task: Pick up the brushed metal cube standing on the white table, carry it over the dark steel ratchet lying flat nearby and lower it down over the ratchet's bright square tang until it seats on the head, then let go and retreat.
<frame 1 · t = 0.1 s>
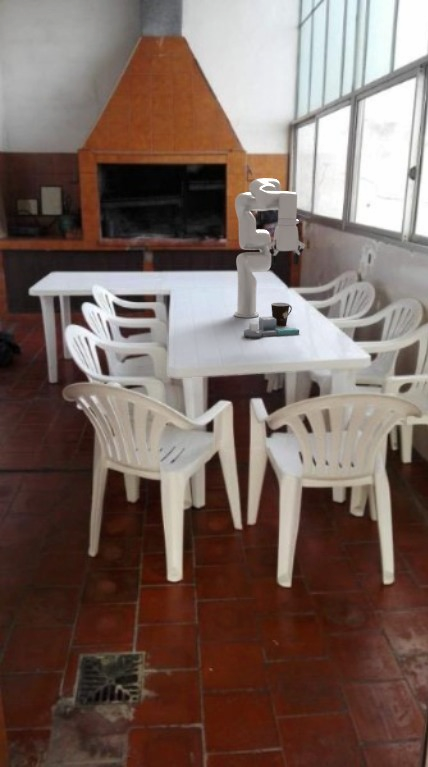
hand: (285, 264, 250), 31 cm above the table, fingers open, 9 cm apart
coffee mug: (282, 325, 280), on the table
ratchet: (253, 336, 258), on the table
brushed metal cube: (267, 331, 268), on the table
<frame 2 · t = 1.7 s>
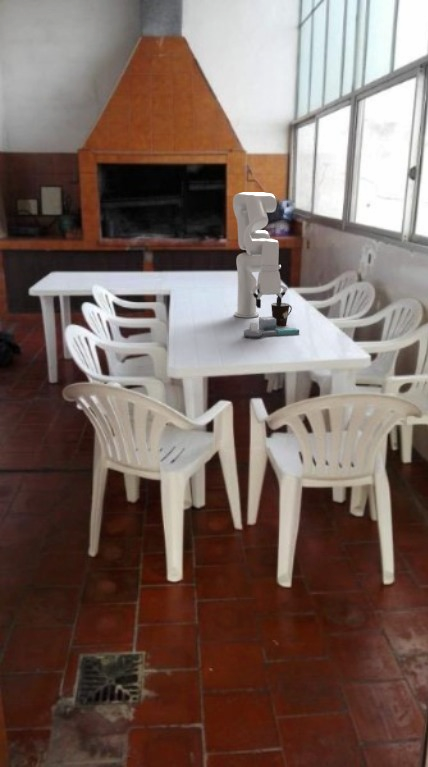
hand: (268, 307, 264), 11 cm above the table, fingers open, 9 cm apart
nothing on the table moved.
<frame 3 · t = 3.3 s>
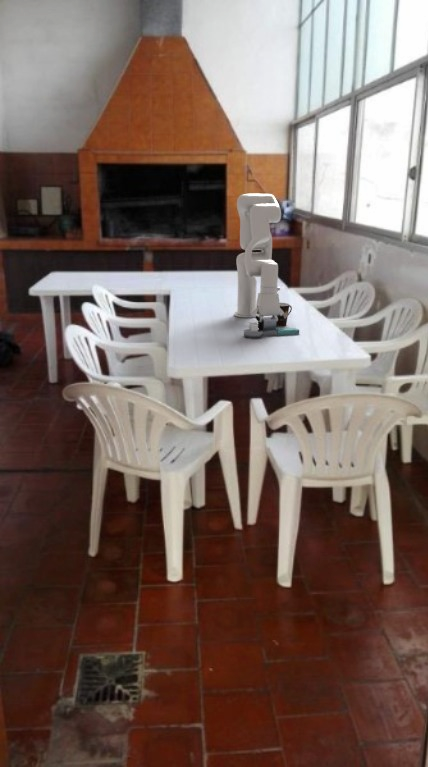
hand: (267, 329, 267), 1 cm above the table, fingers closed on brushed metal cube, 6 cm apart
brushed metal cube: (267, 331, 268), on the table, touching gripper
everything else where it was.
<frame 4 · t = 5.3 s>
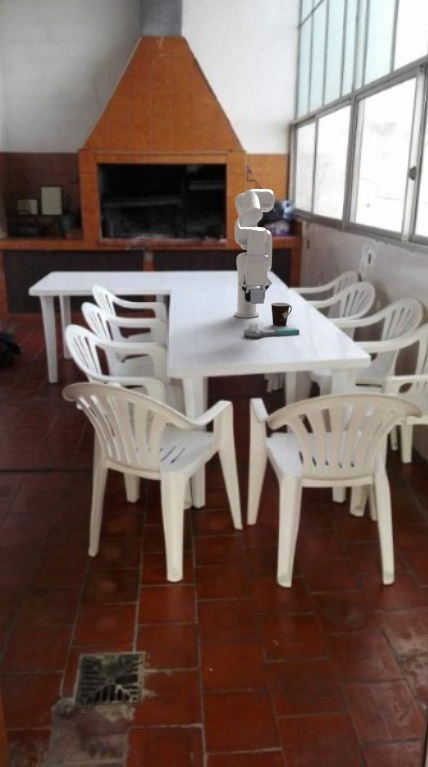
hand: (254, 300, 253), 16 cm above the table, fingers closed on brushed metal cube, 6 cm apart
brushed metal cube: (254, 302, 253), point 15 cm above the table, touching gripper
everything else where it was.
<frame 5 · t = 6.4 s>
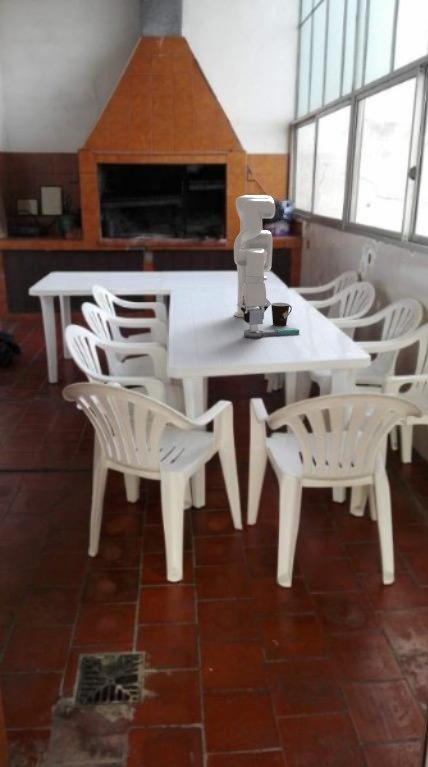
hand: (253, 321, 255), 7 cm above the table, fingers closed on brushed metal cube, 6 cm apart
brushed metal cube: (253, 323, 256), point 6 cm above the table, touching gripper
everything else where it was.
when the fingers open (4 cm above the table, at t = 7.4 s): brushed metal cube stays where it is, resting on ratchet.
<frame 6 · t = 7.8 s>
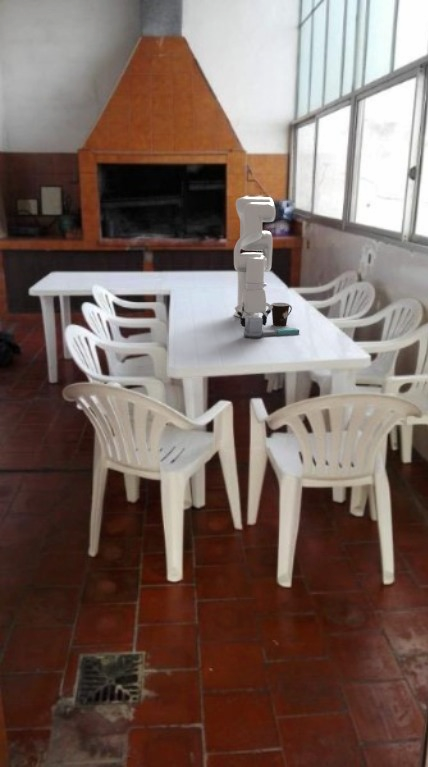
hand: (253, 325, 256), 5 cm above the table, fingers open, 9 cm apart
brushed metal cube: (253, 331, 257), point 2 cm above the table, touching ratchet
everything else where it was.
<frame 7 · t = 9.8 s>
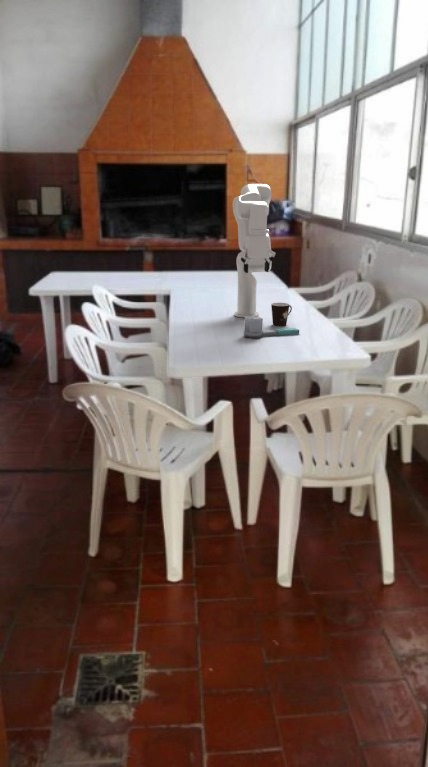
hand: (256, 272, 261), 26 cm above the table, fingers open, 9 cm apart
nothing on the table moved.
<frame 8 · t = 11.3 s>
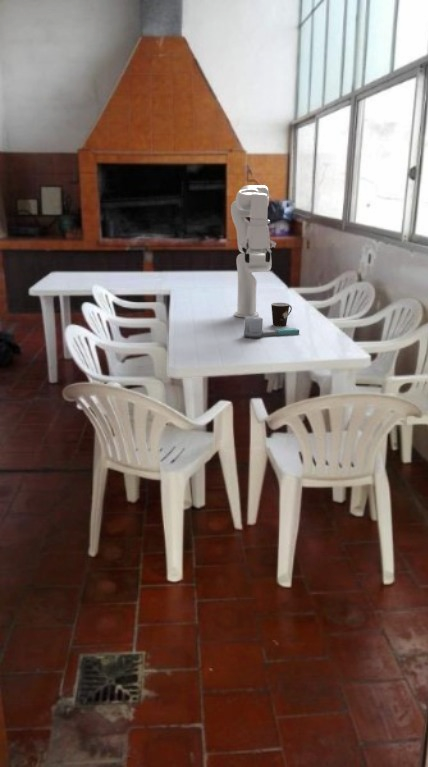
hand: (257, 262, 264), 30 cm above the table, fingers open, 9 cm apart
nothing on the table moved.
at the end: brushed metal cube 0.1 cm off-centre on the ratchet, point 2.4 cm above the ratchet's base; brushed metal cube tilted 0°; the gripper is holding nothing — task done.
